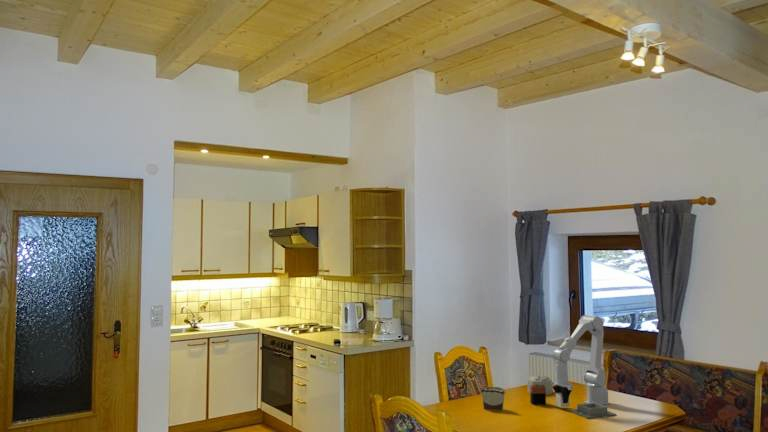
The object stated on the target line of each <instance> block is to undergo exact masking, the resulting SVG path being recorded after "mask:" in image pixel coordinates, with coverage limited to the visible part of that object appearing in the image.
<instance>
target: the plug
mask: <svg viewBox="0 0 768 432" xmlns="http://www.w3.org/2000/svg"><path fill="white" fill-rule="evenodd" d="M555 406H557V407H559V408H566V407H570V398H569V399H568V403H563V398H562V393H555Z"/></svg>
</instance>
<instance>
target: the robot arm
mask: <svg viewBox="0 0 768 432" xmlns="http://www.w3.org/2000/svg"><path fill="white" fill-rule="evenodd" d="M586 331H587V332H588V331H589V333H590V334H591V342H590V343H591V345H590V354H589V355H590V356H589V357H590V358H589V365H588V366H587V367H585V372H584V374H583V381H584V382H585V383H586V385H587V400H584V401H583V402H584V403H593V402H595V403H598V404H601V405H603V406H606V405H610V403H609V390H608V388H607V386H606V385H605V384H606V380H607V378H606V372H605V370H604V368H602V359H603V358H602V357H603V348H604V347H603V345H604V332H605V331H604V320H603V319H602V318H601V317H600V316H593V315H587V314H584V315H581V317H580V319H579V320H578V324H577V326H576V328H575V329H574V331H573V332H572V334H571V335H570V336H569V337H566V338H564V341H563V342H562V343H561V344H560V346H559V347H558V348H556V349H555V350H553V352H552V358H553V360H554V365H555V366H554V367H555V379H552V388H553V391H554V393H555V394H556V393H562V398H563V403H568V399H569V400H570V395H571V393H572V391H573V389H574V388H573V387H574V385H572V384H570V383H569V376H568V375H569V373H568V361H570V359H571V354H572V352H573V350H574V349H575V348H576V347H577V345H578V343H577V341H579V339H580V338H581V337H582V336H583V335H584V334H585V332H586Z"/></svg>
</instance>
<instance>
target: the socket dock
mask: <svg viewBox="0 0 768 432" xmlns="http://www.w3.org/2000/svg"><path fill="white" fill-rule="evenodd" d="M568 412H570V413H572V414H575V415H578V416H580V417H583V418H585V419H587V420H590V419H596V418H605V417H615V416H617V414H616V413H614V412H612V411H609V410H608V406H606V405H601V404H598V403H595V402H593V403H585V402H584V403H578V404H577V407H576V408H575V409H569V410H568Z"/></svg>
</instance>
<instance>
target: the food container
mask: <svg viewBox="0 0 768 432" xmlns="http://www.w3.org/2000/svg"><path fill="white" fill-rule="evenodd" d="M480 394H481V398H482V407H483V410H488V411H497V412H503V411H504V400H505V394H506V390H505V389H504V388H503V387H500V386H499V387H498V386H485V387H481V389H480Z"/></svg>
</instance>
